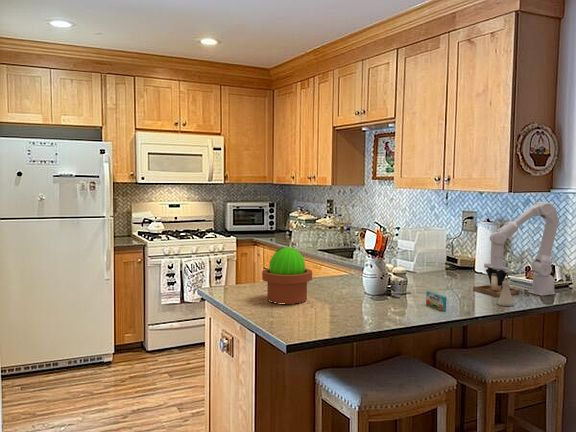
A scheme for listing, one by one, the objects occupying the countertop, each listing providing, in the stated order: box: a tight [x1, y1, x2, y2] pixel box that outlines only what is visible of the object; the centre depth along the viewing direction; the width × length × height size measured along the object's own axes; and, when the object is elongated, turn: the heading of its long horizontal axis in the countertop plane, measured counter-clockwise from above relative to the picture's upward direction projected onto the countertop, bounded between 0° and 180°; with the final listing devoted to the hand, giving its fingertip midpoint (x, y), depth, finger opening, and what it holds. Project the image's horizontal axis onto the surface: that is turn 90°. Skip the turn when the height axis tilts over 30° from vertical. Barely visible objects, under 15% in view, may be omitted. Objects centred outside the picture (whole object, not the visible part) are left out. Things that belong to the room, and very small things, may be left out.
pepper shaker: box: [490, 272, 501, 290], centre depth 249 cm, size 4×4×8 cm
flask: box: [496, 281, 515, 307], centre depth 226 cm, size 7×7×10 cm
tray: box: [473, 284, 520, 298], centre depth 250 cm, size 15×15×2 cm
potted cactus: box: [261, 246, 313, 305], centre depth 232 cm, size 22×22×25 cm
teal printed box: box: [425, 290, 447, 312], centre depth 220 cm, size 12×2×6 cm, turn 20°
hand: (496, 284), depth 249 cm, fingers closed on pepper shaker, 4 cm apart
